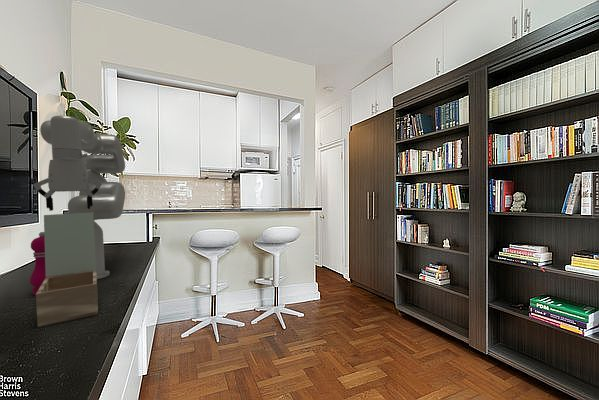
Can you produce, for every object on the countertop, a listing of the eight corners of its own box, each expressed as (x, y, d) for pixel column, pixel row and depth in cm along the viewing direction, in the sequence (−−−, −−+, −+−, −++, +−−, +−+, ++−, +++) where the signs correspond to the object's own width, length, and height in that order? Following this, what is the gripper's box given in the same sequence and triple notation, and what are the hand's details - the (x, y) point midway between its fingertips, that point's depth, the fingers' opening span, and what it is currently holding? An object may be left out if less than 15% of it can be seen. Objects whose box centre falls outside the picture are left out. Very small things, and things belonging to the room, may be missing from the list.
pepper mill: (43, 296, 94) (39, 233, 93) (24, 295, 95) (21, 233, 95) (65, 289, 101) (62, 230, 101) (48, 288, 103) (44, 230, 102)
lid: (45, 277, 86) (48, 276, 91) (96, 269, 93) (96, 269, 98) (43, 213, 88) (46, 216, 93) (93, 210, 95) (93, 213, 100)
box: (47, 305, 86) (45, 277, 86) (97, 295, 93) (96, 270, 93) (37, 327, 71) (35, 294, 71) (98, 314, 78) (96, 284, 78)
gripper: (99, 158, 104) (102, 207, 104) (33, 156, 94) (37, 210, 94) (100, 155, 97) (103, 208, 98) (29, 153, 88) (33, 212, 88)
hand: (70, 209), depth 96 cm, fingers open, 9 cm apart
